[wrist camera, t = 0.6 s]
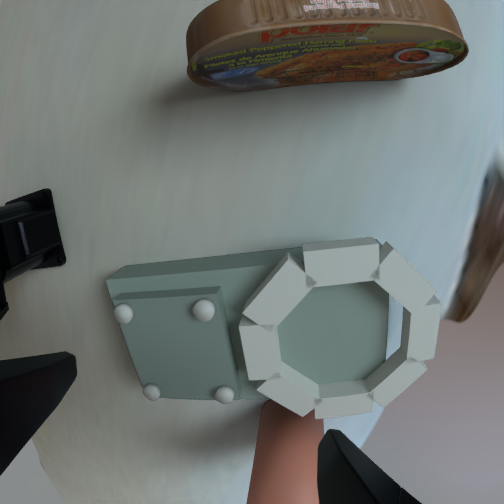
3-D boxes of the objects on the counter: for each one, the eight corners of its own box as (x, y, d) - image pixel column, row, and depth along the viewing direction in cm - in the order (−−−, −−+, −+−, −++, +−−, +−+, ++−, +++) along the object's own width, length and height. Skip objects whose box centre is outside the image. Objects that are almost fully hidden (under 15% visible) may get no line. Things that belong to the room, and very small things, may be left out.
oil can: (264, 435, 26) (243, 577, 12) (256, 394, 25) (226, 558, 10) (322, 431, 25) (326, 577, 11) (322, 390, 24) (330, 559, 10)
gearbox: (161, 383, 26) (141, 419, 21) (122, 253, 22) (87, 275, 18) (408, 366, 22) (425, 404, 18) (416, 220, 19) (447, 237, 15)
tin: (210, 99, 19) (161, 64, 11) (205, 56, 18) (155, 5, 10) (432, 82, 17) (500, 51, 8) (423, 41, 16) (481, -6, 8)
